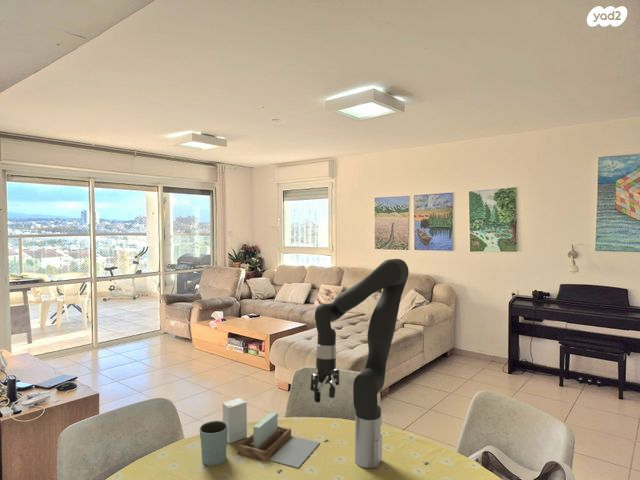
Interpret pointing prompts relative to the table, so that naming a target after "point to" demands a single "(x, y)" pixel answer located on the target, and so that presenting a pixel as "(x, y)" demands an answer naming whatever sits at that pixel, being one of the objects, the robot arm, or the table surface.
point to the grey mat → (294, 452)
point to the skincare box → (235, 419)
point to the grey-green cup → (213, 442)
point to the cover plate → (265, 429)
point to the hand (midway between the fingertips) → (324, 399)
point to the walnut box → (265, 444)
